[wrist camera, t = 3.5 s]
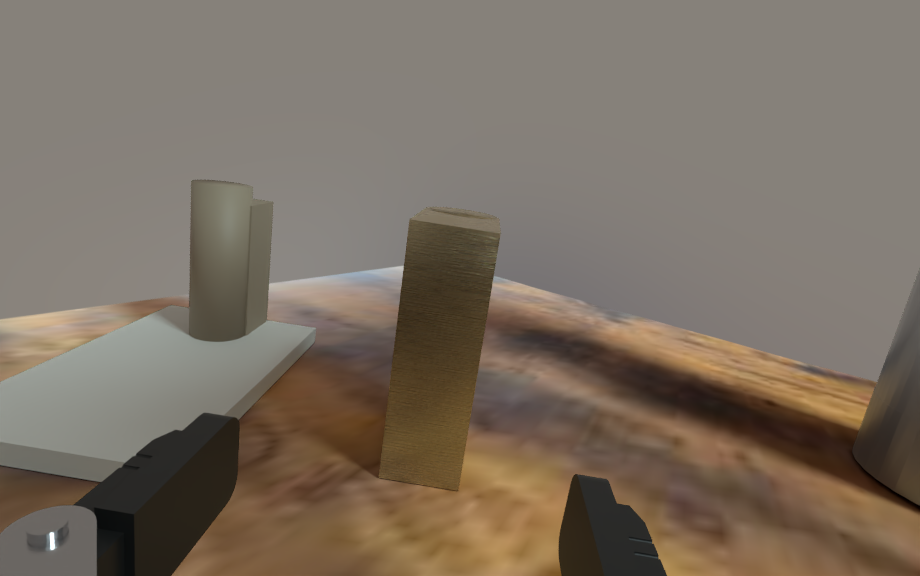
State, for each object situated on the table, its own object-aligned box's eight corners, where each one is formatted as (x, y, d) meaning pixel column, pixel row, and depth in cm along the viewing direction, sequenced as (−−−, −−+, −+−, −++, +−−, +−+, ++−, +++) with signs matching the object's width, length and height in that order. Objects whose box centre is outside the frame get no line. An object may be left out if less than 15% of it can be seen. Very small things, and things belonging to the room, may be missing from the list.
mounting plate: (166, 493, 19) (168, 225, 17) (-94, 449, 20) (-129, 179, 17) (314, 341, 35) (326, 193, 33) (171, 318, 36) (172, 169, 33)
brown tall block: (458, 490, 22) (500, 233, 19) (378, 477, 22) (409, 219, 19) (466, 415, 28) (498, 214, 26) (404, 406, 28) (430, 204, 26)
